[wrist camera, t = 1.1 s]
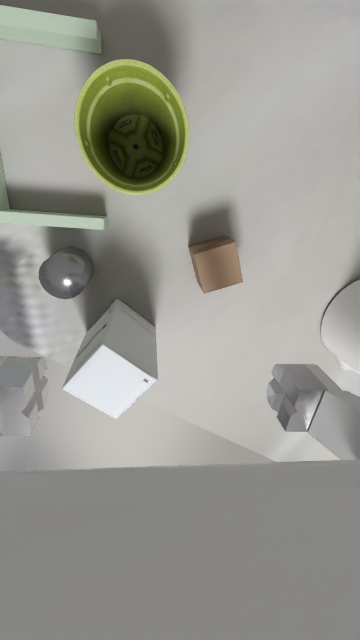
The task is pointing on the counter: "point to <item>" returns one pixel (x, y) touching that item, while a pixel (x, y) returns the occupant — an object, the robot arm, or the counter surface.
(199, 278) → the walnut block
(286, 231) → the counter surface
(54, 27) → the corral
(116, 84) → the plant pot
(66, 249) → the metal tin
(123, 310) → the supplement box
